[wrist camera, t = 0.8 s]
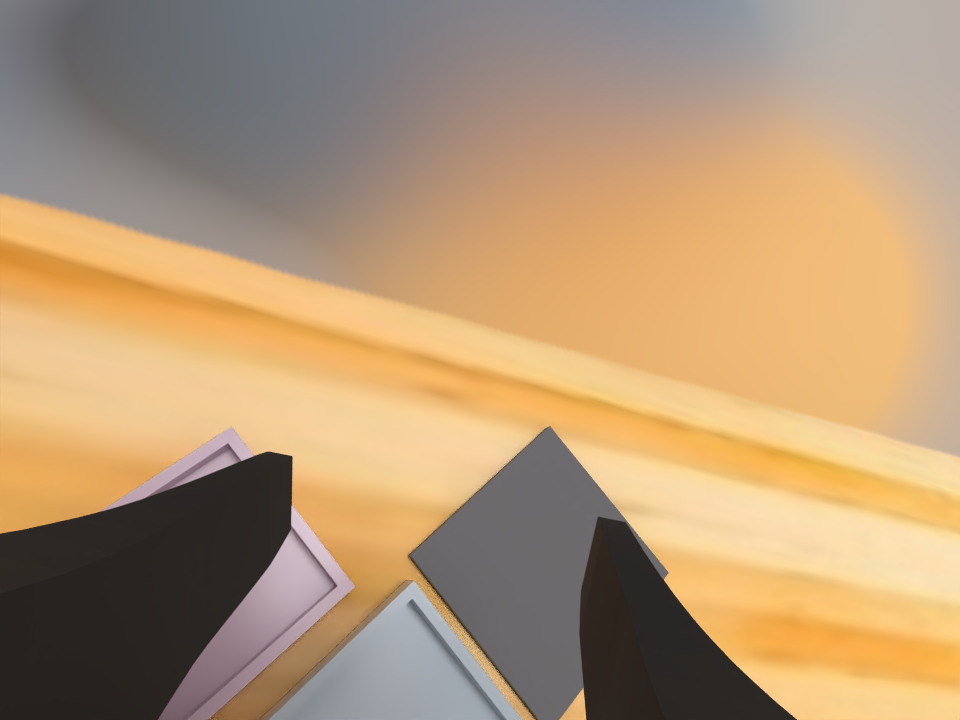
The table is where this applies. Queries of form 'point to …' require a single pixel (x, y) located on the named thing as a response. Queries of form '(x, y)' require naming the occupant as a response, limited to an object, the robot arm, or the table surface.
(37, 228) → the table surface
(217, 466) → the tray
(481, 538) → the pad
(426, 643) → the tray mid
